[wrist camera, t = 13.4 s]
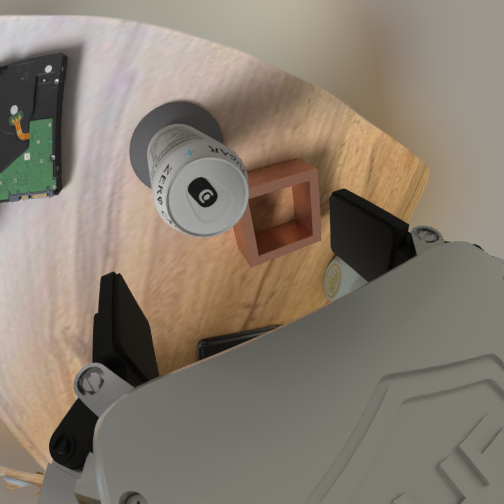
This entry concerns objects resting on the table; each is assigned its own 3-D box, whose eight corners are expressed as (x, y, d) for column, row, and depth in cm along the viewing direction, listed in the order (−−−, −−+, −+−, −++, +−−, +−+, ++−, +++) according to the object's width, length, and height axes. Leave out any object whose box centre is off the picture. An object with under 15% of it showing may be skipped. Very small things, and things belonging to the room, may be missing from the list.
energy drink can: (171, 189, 29) (200, 264, 17) (135, 149, 25) (131, 198, 14) (214, 153, 29) (276, 202, 17) (181, 111, 25) (220, 123, 13)
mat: (229, 176, 31) (231, 177, 31) (146, 205, 29) (146, 206, 29) (211, 92, 26) (213, 92, 25) (118, 120, 23) (118, 121, 23)
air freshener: (350, 286, 51) (383, 320, 44) (315, 295, 49) (347, 334, 41) (366, 236, 46) (406, 267, 38) (329, 241, 43) (370, 278, 35)
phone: (198, 343, 43) (282, 326, 48) (196, 338, 44) (280, 322, 49) (199, 370, 47) (275, 354, 52) (198, 366, 48) (272, 350, 53)
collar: (303, 224, 39) (321, 240, 36) (238, 248, 37) (250, 267, 34) (297, 158, 33) (317, 168, 30) (222, 179, 31) (234, 192, 28)
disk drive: (-9, 73, 14) (-7, 198, 21) (-20, 72, 12) (-17, 207, 19) (70, 55, 18) (65, 189, 25) (63, 50, 16) (59, 197, 23)
